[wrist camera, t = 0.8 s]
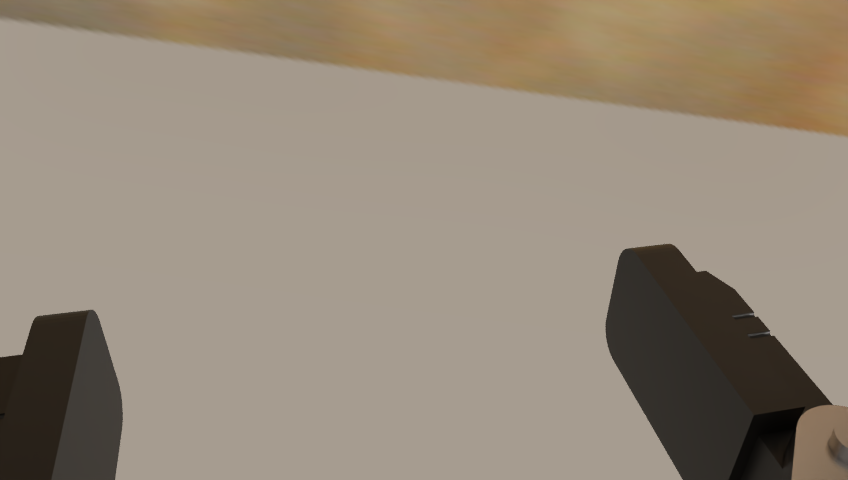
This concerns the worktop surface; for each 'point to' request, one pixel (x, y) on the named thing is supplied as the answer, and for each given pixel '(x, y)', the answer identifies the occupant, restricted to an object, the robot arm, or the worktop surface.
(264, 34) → the worktop surface
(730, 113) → the worktop surface
